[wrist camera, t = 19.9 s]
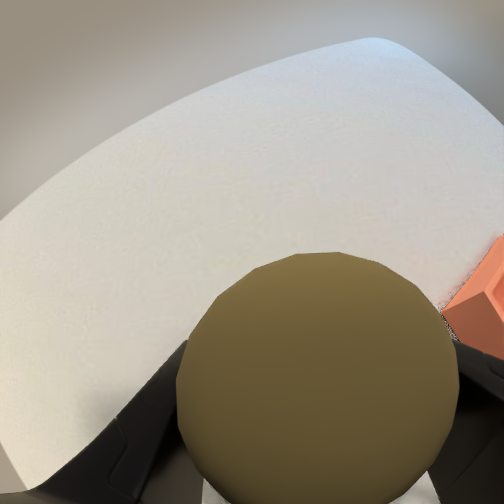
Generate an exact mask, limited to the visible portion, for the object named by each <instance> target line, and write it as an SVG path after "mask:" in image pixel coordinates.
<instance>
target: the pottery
mask: <svg viewBox="0 0 504 504" xmlns="http://www.w3.org/2000/svg"><path fill="white" fill-rule="evenodd" d="M441 313H442V315H443V316H444V318H445V319H446V321H447V322H448V324H449V325H450V327H451V328H452V330H453V331H454V333H455V334H456V336H457V337H458V339H459V340H460V342H461V343H463V344H465V345H468V346H470V347H473V348H475V349H478V350H480V351H482V352H483V353H487V354H490V355H492V356H495V357H497V358H500V359H502V360H504V234H503V235H502V236H500V237H499V238H498V239H497V240H496V242H495V243H494V245H493V246H492V247H491V249H490V250H489V252H488V253H487V255H486V256H485V257H484V259H483V260H482V262H481V263H480V264H479V266H478V267H477V268H476V270H475V271H474V272H473V274H472V275H471V276H470V278H469V279H468V280H467V281H466V283H465V284H464V285H463V286H462V288H461V289H460V290H459V291H458V293H457V294H456V295H455V296H454V297H453V299H452V300H451V301H450V302H449V303H448V305H447V306H446V307H445V308H444V309H443V310H442V311H441Z"/></svg>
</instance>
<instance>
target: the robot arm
mask: <svg viewBox="0 0 504 504" xmlns="http://www.w3.org/2000/svg"><path fill="white" fill-rule="evenodd" d="M187 342H188V340H185V341H184V342H183V343H182V344H181V345H180V346H179V347H178V349H177V350H176V351H175V352H174V353H173V354H172V355H171V356H170V357H169V359H168V360H167V361H166V362H165V363H164V364H163V365H162V366H161V367H160V369H159V370H158V371H157V372H156V373H155V374H154V375H153V376H152V377H151V379H150V380H149V381H148V382H147V383H146V384H145V385H144V386H143V387H142V388H141V390H140V391H139V392H138V393H137V394H136V395H135V396H134V397H133V398H132V399H131V401H130V402H129V403H128V404H127V405H126V406H125V407H124V408H123V409H122V410H121V412H120V413H119V414H118V415H117V416H116V418H117V419H116V418H114V419H113V420H112V421H111V422H110V423H109V425H108V426H107V427H106V428H105V429H104V430H103V431H102V432H101V433H100V434H99V435H98V436H97V437H96V438H95V439H94V440H93V441H92V442H91V443H90V444H89V445H88V446H86V447H85V448H84V449H83V450H82V451H81V452H80V453H79V454H78V455H76V456H75V457H74V458H73V459H72V460H70V461H69V462H68V463H67V464H66V465H64V466H63V467H62V468H61V469H60V470H58V471H57V472H56V473H55V474H54V475H52V476H51V477H50V478H49V479H48V480H46V481H45V482H43V483H42V484H41V485H39V486H37V487H35V488H33V489H30V490H27V491H23V492H16V493H5V494H0V504H202V491H203V476H202V475H201V474H200V473H199V472H198V471H197V470H196V468H195V466H194V463H193V461H192V459H191V457H190V454H189V452H188V450H187V447H186V445H185V443H184V440H183V438H182V435H181V433H180V430H179V428H178V418H177V395H176V377H177V374H178V371H179V368H180V364H181V361H182V358H183V355H184V351H185V348H186V345H187ZM452 342H453V344H454V347H455V349H456V357H457V366H458V376H459V394H458V400H457V405H456V410H455V415H454V420H453V425H452V428H451V430H450V432H449V434H448V436H447V438H446V440H445V442H444V444H443V446H442V448H441V450H440V452H439V454H438V456H437V457H436V459H435V461H434V463H433V464H432V465H431V466H430V468H429V469H428V470H427V471H428V474H429V476H430V478H431V481H432V483H433V485H434V488H435V490H436V493H437V495H438V497H440V498H439V500H440V503H441V504H504V360H502V359H500V358H497V357H495V356H492V355H490V354H487V353H483V352H482V351H480V350H478V349H475V348H473V347H470V346H468V345H465V344H463V343H460V342H458V341H456V340H453V339H452Z"/></svg>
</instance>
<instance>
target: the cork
mask: <svg viewBox="0 0 504 504" xmlns="http://www.w3.org/2000/svg"><path fill="white" fill-rule="evenodd" d="M458 394H459V376H458V366H457V357H456V349H455V347H454V344H453V342H452V339H451V337H450V335H449V332H448V330H447V328H446V325H445V323H444V321H443V318H442V316H441V314H440V313H439V312H438V311H437V309H436V308H435V307H434V306H433V305H432V303H431V302H430V301H429V300H428V299H427V298H426V296H425V295H424V294H423V293H422V292H421V291H420V289H419V288H418V287H417V286H416V285H414V284H413V283H411V282H409V281H408V280H406V279H405V278H403V277H402V276H400V275H398V274H397V273H395V272H394V271H392V270H390V269H389V268H387V267H386V266H384V265H382V264H380V263H378V262H374V261H370V260H367V259H363V258H359V257H355V256H351V255H348V254H344V253H340V252H331V253H309V254H295V255H292V256H289V257H287V258H284V259H281V260H278V261H275V262H273V263H270V264H267V265H264V266H261V267H259V268H256V269H254V270H252V271H251V272H250V273H248V274H247V275H246V276H244V277H243V278H242V279H240V280H239V281H238V282H236V283H235V284H234V285H232V286H231V287H230V288H228V289H227V290H226V291H224V292H223V293H222V294H220V295H219V296H218V297H217V298H216V299H215V301H214V302H213V304H212V305H211V306H210V308H209V309H208V311H207V312H206V313H205V315H204V316H203V318H202V319H201V320H200V322H199V323H198V324H197V326H196V327H195V329H194V330H193V331H192V333H191V334H190V336H189V339H188V342H187V345H186V348H185V351H184V355H183V358H182V361H181V364H180V368H179V371H178V374H177V377H176V395H177V418H178V428H179V430H180V433H181V435H182V438H183V440H184V443H185V445H186V447H187V450H188V452H189V454H190V457H191V459H192V461H193V463H194V466H195V468H196V470H197V471H198V472H199V473H200V474H201V475H202V476H203V477H204V478H205V479H206V480H207V481H208V483H209V484H210V485H211V486H212V487H213V488H214V489H215V490H216V491H217V492H218V493H219V494H220V495H221V496H222V497H223V498H224V499H225V500H226V501H227V502H229V503H231V504H388V503H390V502H392V501H393V500H395V499H397V498H398V497H400V496H402V495H403V494H405V493H406V492H407V491H408V490H409V489H410V488H411V487H412V486H413V485H414V484H415V483H416V481H417V480H418V479H419V478H420V477H421V476H422V475H423V474H424V473H425V472H426V471H427V470H428V469H429V468H430V466H431V465H432V464H433V463H434V461H435V459H436V457H437V456H438V454H439V452H440V450H441V448H442V446H443V444H444V442H445V440H446V438H447V436H448V434H449V432H450V430H451V428H452V425H453V420H454V415H455V410H456V405H457V400H458Z"/></svg>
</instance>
